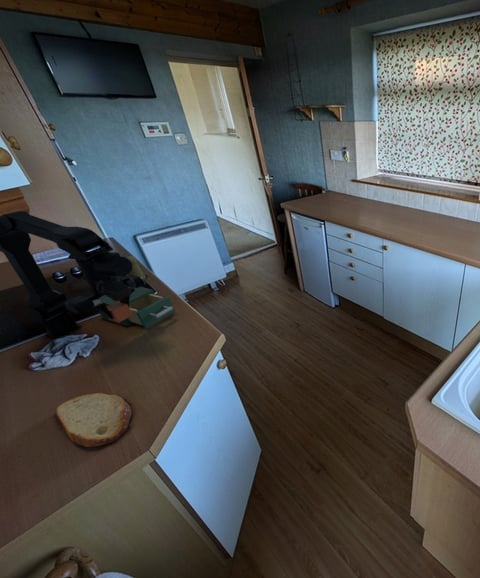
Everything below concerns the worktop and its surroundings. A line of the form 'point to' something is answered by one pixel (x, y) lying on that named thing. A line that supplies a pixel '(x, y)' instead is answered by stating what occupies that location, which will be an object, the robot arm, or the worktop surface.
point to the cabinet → (134, 296)
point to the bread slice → (94, 418)
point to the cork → (135, 268)
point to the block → (119, 311)
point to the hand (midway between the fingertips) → (119, 314)
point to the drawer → (150, 310)
